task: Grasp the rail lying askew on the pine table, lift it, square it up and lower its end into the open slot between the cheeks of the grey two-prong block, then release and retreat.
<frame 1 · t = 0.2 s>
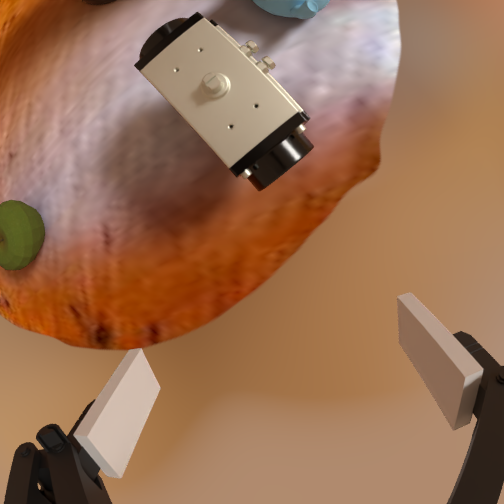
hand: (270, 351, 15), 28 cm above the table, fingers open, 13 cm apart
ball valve: (239, 113, 38), on the table
apple: (35, 227, 43), on the table
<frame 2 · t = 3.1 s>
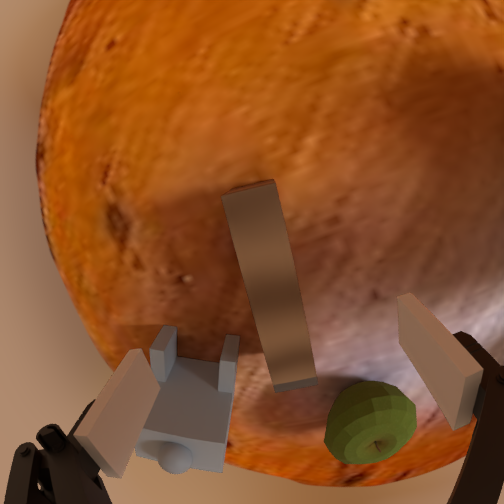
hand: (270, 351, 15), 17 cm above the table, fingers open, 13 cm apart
rail: (274, 273, 31), on the table
apple: (359, 394, 35), on the table
grey two-prong block: (199, 376, 35), on the table
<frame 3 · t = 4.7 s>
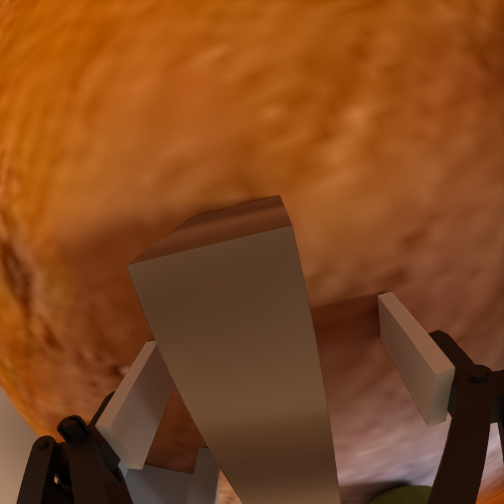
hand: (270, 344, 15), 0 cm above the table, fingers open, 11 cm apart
rail: (279, 372, 16), on the table
apple: (391, 493, 20), on the table
grey two-prong block: (167, 483, 20), on the table
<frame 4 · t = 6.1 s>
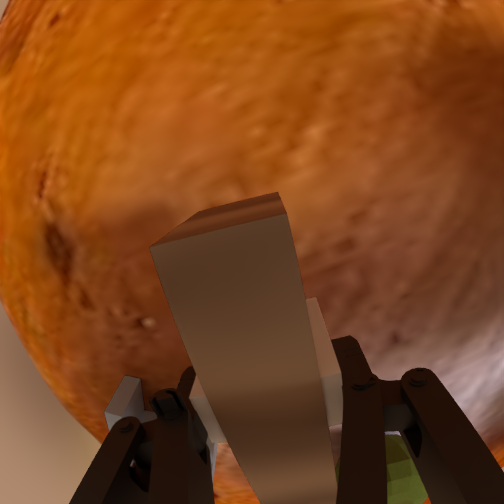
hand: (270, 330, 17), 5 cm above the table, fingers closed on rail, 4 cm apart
rail: (277, 355, 18), point 5 cm above the table, touching gripper
apple: (368, 445, 27), on the table
grey two-prong block: (174, 432, 26), on the table
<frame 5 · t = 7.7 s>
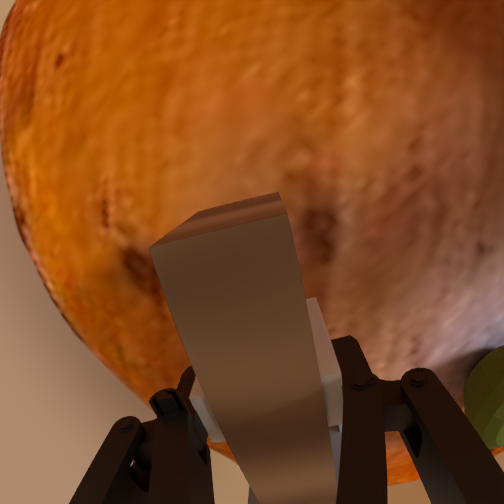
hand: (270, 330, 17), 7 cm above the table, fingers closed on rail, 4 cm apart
rail: (277, 356, 17), point 6 cm above the table, touching gripper
apple: (484, 365, 25), on the table
grey two-prong block: (305, 417, 26), on the table
when the fingers open (0 cm above the table, at t = 9.1 s): rail stays where it is, on the table.
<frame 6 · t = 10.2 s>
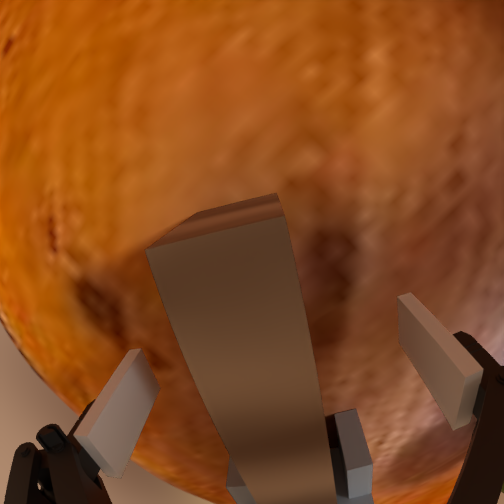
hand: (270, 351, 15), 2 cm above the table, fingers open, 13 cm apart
rail: (276, 358, 17), on the table
grey two-prong block: (306, 470, 20), on the table
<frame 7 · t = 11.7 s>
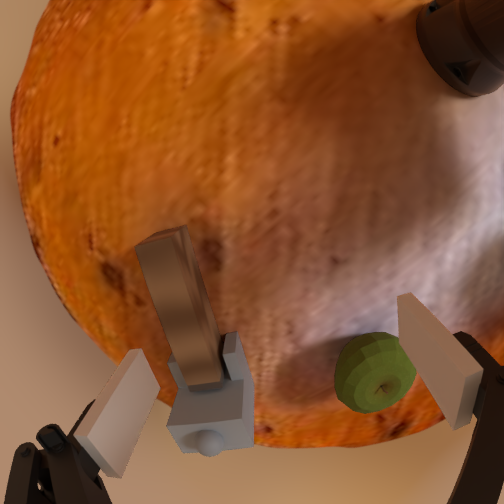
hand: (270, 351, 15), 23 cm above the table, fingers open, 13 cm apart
rail: (192, 298, 38), on the table
apple: (362, 349, 40), on the table
grey two-prong block: (220, 375, 41), on the table
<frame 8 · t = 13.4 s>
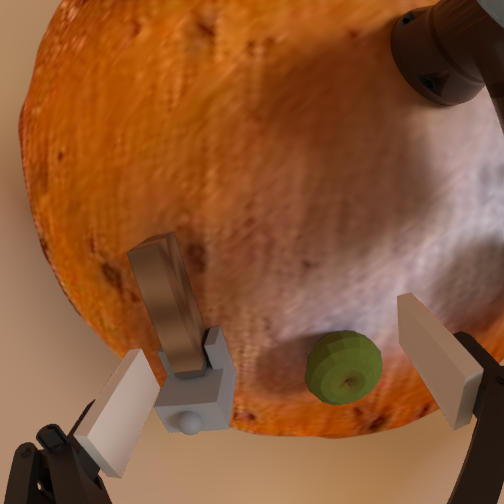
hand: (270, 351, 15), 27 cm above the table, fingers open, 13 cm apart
rail: (180, 296, 43), on the table
apple: (335, 345, 45), on the table
grey two-prong block: (206, 365, 46), on the table
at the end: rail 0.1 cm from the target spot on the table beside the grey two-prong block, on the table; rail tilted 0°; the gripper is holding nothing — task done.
